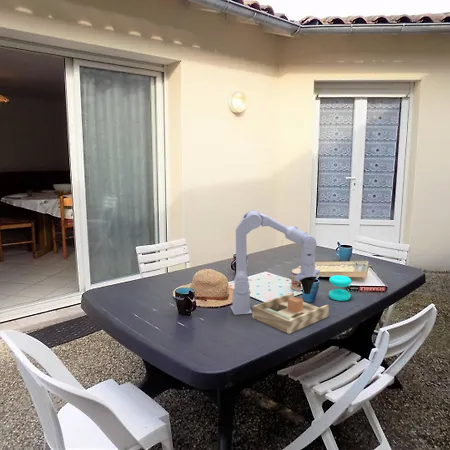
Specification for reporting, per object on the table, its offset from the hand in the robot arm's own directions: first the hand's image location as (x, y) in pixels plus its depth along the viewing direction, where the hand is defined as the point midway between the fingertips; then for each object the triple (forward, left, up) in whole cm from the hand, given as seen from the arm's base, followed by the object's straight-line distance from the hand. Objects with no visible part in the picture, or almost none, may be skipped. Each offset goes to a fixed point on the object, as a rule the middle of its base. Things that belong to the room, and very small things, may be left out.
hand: (306, 293), depth 168 cm
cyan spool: (-12, +21, -8) cm, 26 cm away
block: (+4, -6, -5) cm, 9 cm away
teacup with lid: (-27, +8, -8) cm, 29 cm away
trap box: (+5, -9, -8) cm, 13 cm away
